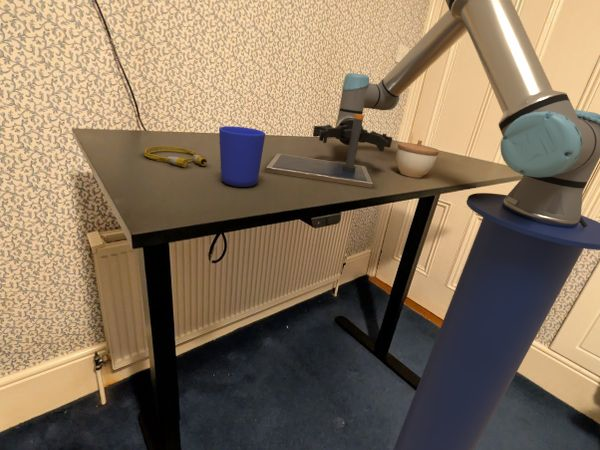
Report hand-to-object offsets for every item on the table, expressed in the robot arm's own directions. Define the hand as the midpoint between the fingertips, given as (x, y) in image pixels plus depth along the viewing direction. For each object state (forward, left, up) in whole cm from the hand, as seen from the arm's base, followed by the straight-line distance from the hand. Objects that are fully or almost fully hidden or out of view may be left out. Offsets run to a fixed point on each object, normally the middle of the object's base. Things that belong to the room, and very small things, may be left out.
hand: (354, 141), depth 76 cm
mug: (-4, +29, -9) cm, 30 cm away
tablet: (+4, +6, -8) cm, 11 cm away
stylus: (+1, 0, -7) cm, 7 cm away
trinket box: (+2, -22, -9) cm, 24 cm away
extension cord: (+12, +39, -9) cm, 41 cm away
